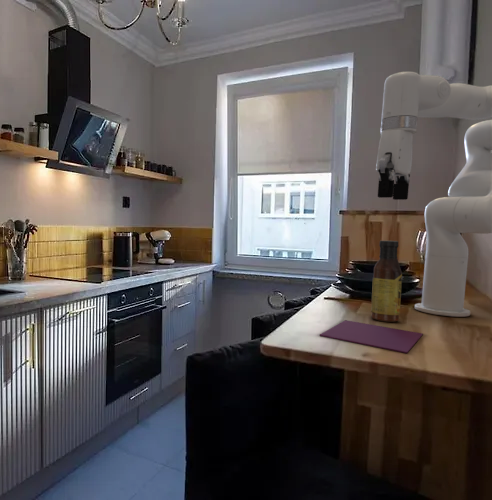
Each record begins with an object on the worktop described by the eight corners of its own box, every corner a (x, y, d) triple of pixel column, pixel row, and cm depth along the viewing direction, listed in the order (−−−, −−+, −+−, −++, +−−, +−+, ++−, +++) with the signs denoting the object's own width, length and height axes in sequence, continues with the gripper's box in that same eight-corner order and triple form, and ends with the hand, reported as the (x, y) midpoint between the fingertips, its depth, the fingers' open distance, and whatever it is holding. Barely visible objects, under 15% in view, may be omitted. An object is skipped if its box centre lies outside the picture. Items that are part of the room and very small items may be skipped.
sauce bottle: (403, 323, 102) (409, 241, 101) (375, 321, 104) (381, 240, 102) (393, 317, 109) (398, 240, 107) (366, 315, 110) (372, 239, 108)
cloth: (345, 321, 103) (345, 320, 103) (422, 334, 93) (422, 333, 93) (319, 335, 90) (319, 334, 90) (406, 353, 79) (407, 352, 79)
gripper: (394, 134, 111) (389, 200, 112) (367, 123, 99) (361, 196, 101) (428, 130, 105) (422, 200, 106) (403, 118, 94) (396, 196, 95)
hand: (392, 198), depth 103 cm, fingers open, 9 cm apart
